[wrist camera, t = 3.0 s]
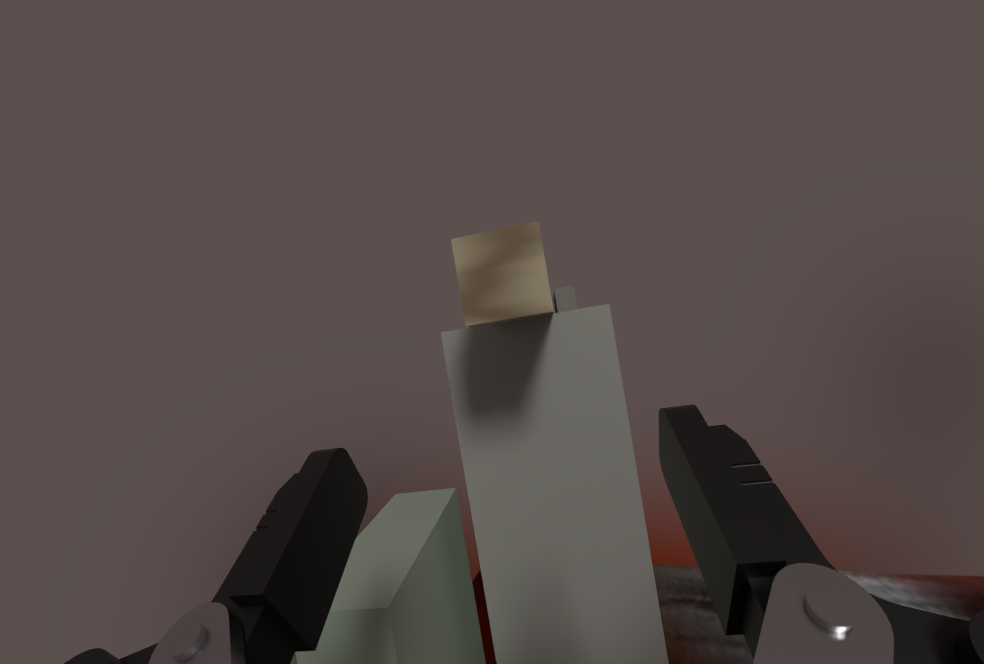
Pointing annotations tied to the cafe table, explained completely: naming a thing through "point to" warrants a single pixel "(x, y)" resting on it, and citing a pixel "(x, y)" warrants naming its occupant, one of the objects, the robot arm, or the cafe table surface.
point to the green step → (405, 590)
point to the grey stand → (555, 489)
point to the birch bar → (502, 275)
